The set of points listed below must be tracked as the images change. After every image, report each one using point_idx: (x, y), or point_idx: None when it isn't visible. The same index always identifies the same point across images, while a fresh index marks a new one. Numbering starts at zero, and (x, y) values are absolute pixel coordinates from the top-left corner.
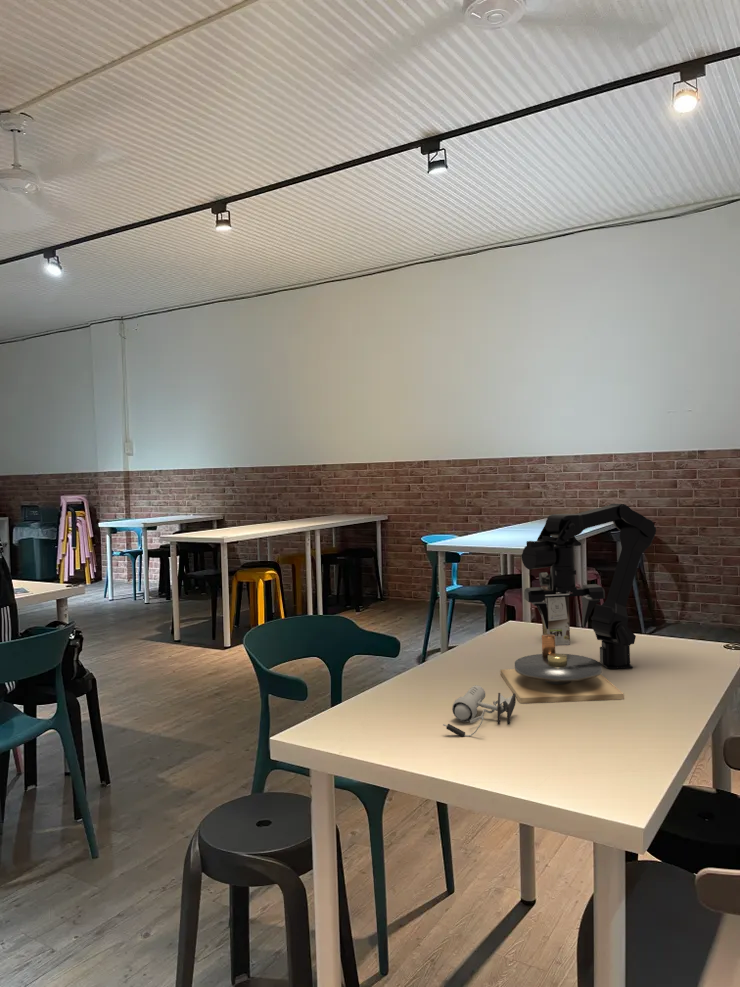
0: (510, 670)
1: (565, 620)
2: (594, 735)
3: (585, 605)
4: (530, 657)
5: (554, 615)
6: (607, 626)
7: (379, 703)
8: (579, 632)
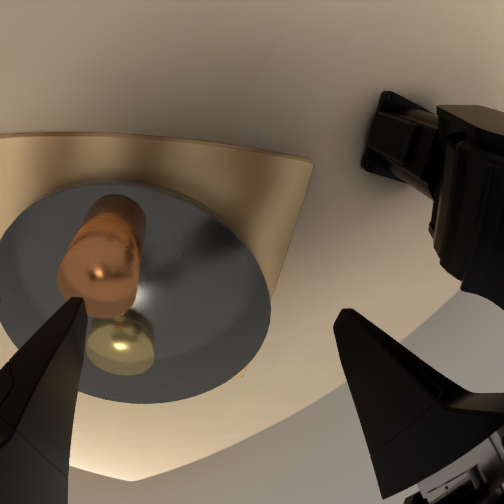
0: (3, 154)
1: None
2: (136, 437)
3: (397, 449)
4: (36, 236)
5: None
6: (455, 264)
7: None
8: None
